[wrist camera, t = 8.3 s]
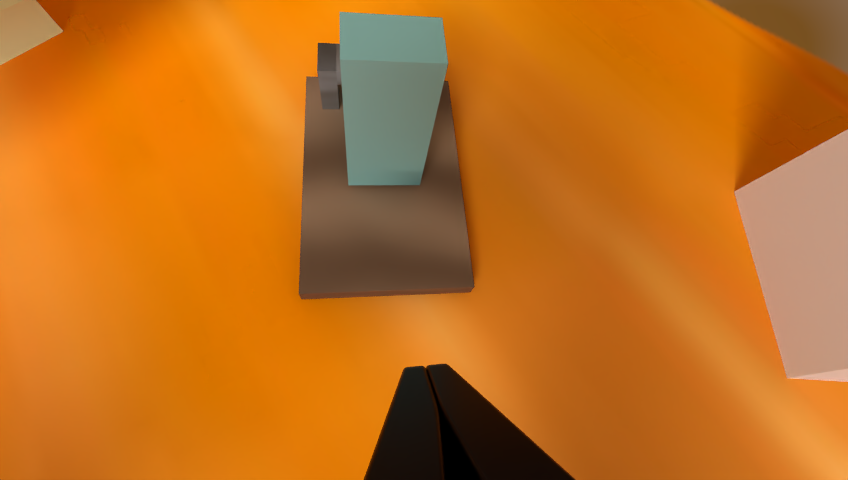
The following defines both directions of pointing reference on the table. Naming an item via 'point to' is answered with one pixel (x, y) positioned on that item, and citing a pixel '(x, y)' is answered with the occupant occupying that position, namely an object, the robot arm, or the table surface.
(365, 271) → the bracket
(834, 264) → the milk
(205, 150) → the table surface
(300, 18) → the table surface
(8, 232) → the table surface
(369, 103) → the teal block
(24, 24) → the slatted curved stool
